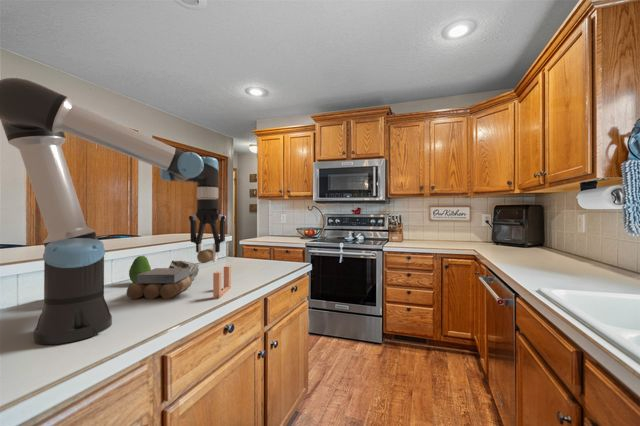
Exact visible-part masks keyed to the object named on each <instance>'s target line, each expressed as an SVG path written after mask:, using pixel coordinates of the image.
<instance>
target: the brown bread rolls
mask: <svg viewBox="0 0 640 426" xmlns="http://www.w3.org/2000/svg"><path fill="white" fill-rule="evenodd" d="M192 282H193V280H192V281H191V279H190V277H186V278H184V279H182V280H180V281H178V282H176V283H136V284H134V283H133V284H131V285H130V286H128V287H127V289H126V295H127V297H128V299H131V300H136V299H139V298H141V297H145V298H146V299H148V300H153V299H156V298H158V297H159V296H161V297H162V298H163V299H164V300H165V299H166V300H169V299H171V298H174V297H175V296H177V295H178V294H181V292H184V291H185V290H187V289H189V288H190V287H191V285H192Z"/></svg>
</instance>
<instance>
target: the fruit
mask: <svg viewBox="0 0 640 426" xmlns="http://www.w3.org/2000/svg"><path fill="white" fill-rule="evenodd" d="M150 270H152V268H151V265H150V263H149V260H148V258H147V257H146V256H144V255H139V256H137V257H136V258H135V259H134V260H133V262H132V264H131V266H130V268H129V269H128V277H129V279H130V281H131V282H132V284H133V285H134V284H136V283H137V275H138V274H141V273H144V272H147V271H150Z"/></svg>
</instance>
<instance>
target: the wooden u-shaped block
mask: <svg viewBox="0 0 640 426" xmlns="http://www.w3.org/2000/svg"><path fill="white" fill-rule="evenodd" d="M231 267H232V266H231V265H224V266H223V289H222V271H215V272H212V273H213V277H212V278H213V279H212V281H213V283H212V285H213V286H212V287H213V288H212V289H213V292H212V295H213V296H212V298H213V300H216V299H218V300H219V299H220V298H221V297H223V296H224V295H225V294H226V293H227V292H228V291H229V290H230V289H231V287H232V285H231V283H232V281H231V279H232V277H231V276H232V271H231V270H232V269H231Z"/></svg>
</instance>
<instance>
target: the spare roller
mask: <svg viewBox="0 0 640 426" xmlns="http://www.w3.org/2000/svg"><path fill="white" fill-rule="evenodd" d="M196 255H197V256H196V258H197V261H198V262H199V263H201V264H206V263H209V262H211V261H213V247H210V248H206V249H203V251H200V252H199V253H197V254H196ZM218 255H219V252H217V257H218Z"/></svg>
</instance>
